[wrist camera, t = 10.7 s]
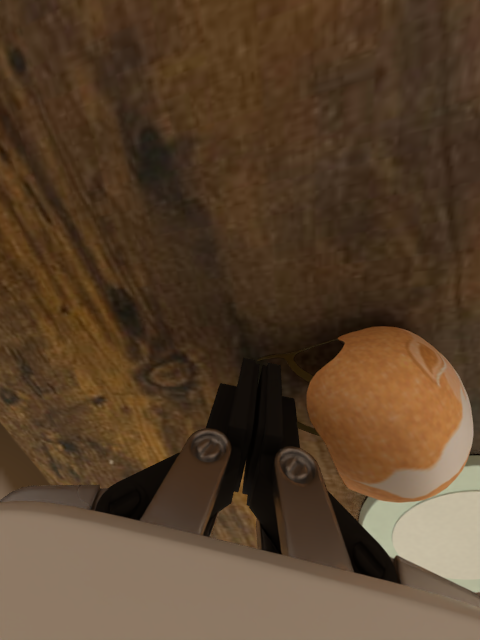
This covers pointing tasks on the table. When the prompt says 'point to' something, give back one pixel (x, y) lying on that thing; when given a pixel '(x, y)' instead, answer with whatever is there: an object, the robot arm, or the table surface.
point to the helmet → (389, 414)
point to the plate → (434, 528)
